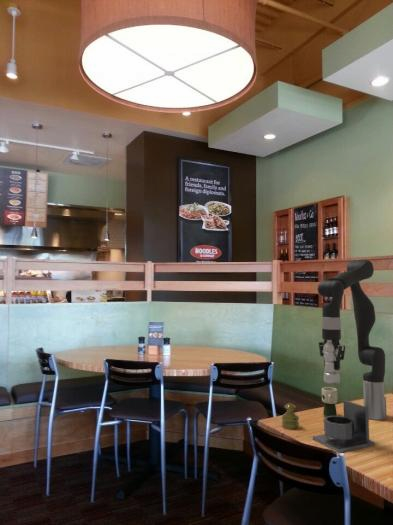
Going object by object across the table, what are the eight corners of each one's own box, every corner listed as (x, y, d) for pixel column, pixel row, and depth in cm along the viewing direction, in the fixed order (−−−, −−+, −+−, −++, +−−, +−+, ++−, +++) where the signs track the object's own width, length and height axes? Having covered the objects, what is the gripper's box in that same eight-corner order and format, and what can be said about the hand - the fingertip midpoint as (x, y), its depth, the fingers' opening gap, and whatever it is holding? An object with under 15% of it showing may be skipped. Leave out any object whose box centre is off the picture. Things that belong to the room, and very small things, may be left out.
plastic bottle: (341, 386, 168) (340, 337, 169) (324, 385, 170) (323, 336, 171) (339, 383, 174) (339, 335, 176) (322, 382, 176) (322, 334, 177)
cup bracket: (346, 432, 176) (345, 399, 177) (374, 445, 162) (373, 408, 163) (312, 439, 169) (312, 404, 170) (339, 452, 155) (338, 414, 156)
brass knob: (286, 422, 190) (286, 400, 190) (301, 426, 185) (301, 403, 185) (278, 427, 184) (278, 404, 184) (294, 430, 179) (293, 407, 180)
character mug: (322, 412, 205) (321, 385, 205) (337, 413, 202) (336, 386, 203) (322, 419, 194) (321, 391, 195) (338, 420, 192) (337, 392, 193)
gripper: (350, 329, 168) (351, 371, 167) (327, 326, 182) (327, 365, 181) (335, 329, 166) (336, 372, 164) (313, 326, 179) (313, 366, 178)
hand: (331, 368), depth 172 cm, fingers closed on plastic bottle, 5 cm apart
